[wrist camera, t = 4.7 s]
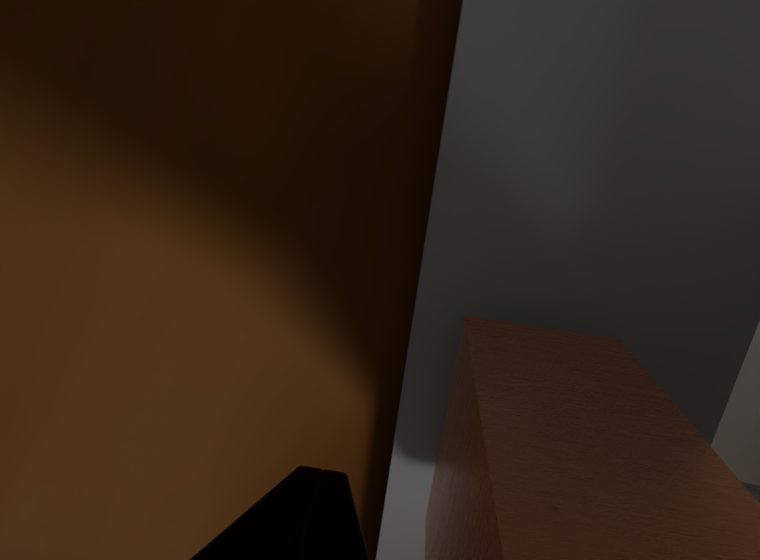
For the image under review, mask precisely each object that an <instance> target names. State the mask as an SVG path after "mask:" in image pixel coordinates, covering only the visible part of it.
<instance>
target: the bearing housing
mask: <svg viewBox="0 0 760 560" xmlns="http://www.w3.org/2000/svg"><path fill="white" fill-rule="evenodd" d="M464 316H469V317H476V318H482V319H489V320H495V321H502V322H509V323H515V324H522V325H528V326H535V327H542V328H548V329H555V330H561V331H568V332H575V333H581V334H588V335H594V336H601V337H608V338H614V339H619V340H620V341H621V342H622V343H623V344H624V346H625V347H626V348H627V349H628V350H629V351H630V353H631V354H632V355H633V356H634V357H635V358H636V360H637V361H638V362H639V363H640V364H641V365H642V367H643V368H644V369H645V370H646V371H647V373H648V374H649V375H650V376H651V377H652V378H653V380H654V381H655V382H656V383H657V384H658V385H659V387H660V388H661V389H662V390H663V391H664V392H665V394H666V395H667V396H668V397H669V398H670V399H671V401H672V402H673V403H674V404H675V405H676V406H677V408H678V409H679V410H680V411H681V412H682V413H683V415H684V416H685V417H686V418H687V419H688V421H689V422H690V423H691V424H692V425H693V426H694V428H695V429H696V430H697V431H698V432H699V433H700V435H701V436H702V437H703V438H704V439H705V440H706V442H707V443H708V444H709V445H710V446H711V447H712V449H713V450H714V451H715V452H716V453H717V454H718V456H719V457H720V458H721V459H722V460H723V461H724V463H725V464H726V465H727V466H728V467H729V469H730V470H731V471H732V472H733V473H734V474H735V476H736V477H737V478H738V479H739V480H740V481H741V482H743V483H749V484H755V485H760V0H462V5H461V12H460V18H459V24H458V31H457V37H456V44H455V50H454V57H453V63H452V69H451V76H450V82H449V89H448V95H447V101H446V108H445V114H444V121H443V127H442V134H441V140H440V146H439V153H438V159H437V166H436V172H435V178H434V185H433V191H432V198H431V204H430V211H429V217H428V223H427V230H426V236H425V243H424V249H423V255H422V262H421V268H420V275H419V281H418V288H417V294H416V300H415V307H414V313H413V320H412V326H411V332H410V339H409V345H408V352H407V358H406V365H405V371H404V377H403V384H402V390H401V397H400V403H399V409H398V416H397V422H396V429H395V435H394V441H393V448H392V454H391V461H390V467H389V474H388V480H387V486H386V493H385V499H384V506H383V512H382V518H381V525H380V531H379V538H378V544H377V551H376V557H375V560H425V518H426V512H427V507H428V502H429V497H430V491H431V486H432V481H433V476H434V470H435V465H436V460H437V455H438V449H439V444H440V439H441V434H442V428H443V423H444V418H445V412H446V407H447V402H448V397H449V391H450V386H451V381H452V376H453V370H454V365H455V360H456V355H457V349H458V344H459V339H460V334H461V328H462V323H463V318H464Z"/></svg>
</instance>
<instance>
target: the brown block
mask: <svg viewBox="0 0 760 560" xmlns="http://www.w3.org/2000/svg"><path fill="white" fill-rule="evenodd" d="M425 560H760V485H755V484H749V483H743V482H741V481H740V480H739V479H738V478H737V477H736V476H735V474H734V473H733V472H732V471H731V470H730V469H729V467H728V466H727V465H726V464H725V463H724V461H723V460H722V459H721V458H720V457H719V456H718V454H717V453H716V452H715V451H714V450H713V449H712V447H711V446H710V445H709V444H708V443H707V442H706V440H705V439H704V438H703V437H702V436H701V435H700V433H699V432H698V431H697V430H696V429H695V428H694V426H693V425H692V424H691V423H690V422H689V421H688V419H687V418H686V417H685V416H684V415H683V413H682V412H681V411H680V410H679V409H678V408H677V406H676V405H675V404H674V403H673V402H672V401H671V399H670V398H669V397H668V396H667V395H666V394H665V392H664V391H663V390H662V389H661V388H660V387H659V385H658V384H657V383H656V382H655V381H654V380H653V378H652V377H651V376H650V375H649V374H648V373H647V371H646V370H645V369H644V368H643V367H642V365H641V364H640V363H639V362H638V361H637V360H636V358H635V357H634V356H633V355H632V354H631V353H630V351H629V350H628V349H627V348H626V347H625V346H624V344H623V343H622V342H621V341H620V340H619V339H614V338H608V337H601V336H594V335H588V334H581V333H575V332H568V331H561V330H555V329H548V328H542V327H535V326H528V325H522V324H515V323H509V322H502V321H495V320H489V319H482V318H476V317H469V316H464V318H463V323H462V328H461V334H460V339H459V344H458V349H457V355H456V360H455V365H454V370H453V376H452V381H451V386H450V391H449V397H448V402H447V407H446V412H445V418H444V423H443V428H442V434H441V439H440V444H439V449H438V455H437V460H436V465H435V470H434V476H433V481H432V486H431V491H430V497H429V502H428V507H427V512H426V518H425Z"/></svg>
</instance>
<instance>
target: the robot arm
mask: <svg viewBox="0 0 760 560" xmlns="http://www.w3.org/2000/svg"><path fill="white" fill-rule="evenodd" d="M190 560H370V558H369V555H368V551H367V547H366V543H365V540H364V536H363V532H362V528H361V525H360V521H359V517H358V513H357V510H356V506H355V502H354V498H353V495H352V491H351V487H350V484H349V480H348V476H347V475H346V474H345V473H344V472H338V471H332V470H322V469H320V468H314V467H308V466H299V467H297V468H296V469H295V470H294V471H293V472H291V473H290V474H289V475H288V476H287V477H286V478H284V479H283V480H282V481H281V482H280V483H279V484H277V485H276V486H275V487H274V488H273V489H272V490H270V491H269V492H268V493H267V494H266V495H265V496H263V497H262V498H261V499H260V500H259V501H258V502H256V503H255V504H254V505H253V506H252V507H251V508H249V509H248V510H247V511H246V512H245V513H244V514H242V515H241V516H240V517H239V518H238V519H237V520H235V521H234V522H233V523H232V524H231V525H230V526H228V527H227V528H226V529H225V530H224V531H222V532H221V533H220V534H219V535H218V536H217V537H215V538H214V539H213V540H212V541H211V542H210V543H208V544H207V545H206V546H205V547H204V548H203V549H201V550H200V551H199V552H198V553H197V554H196V555H194V556H193V557H192V558H191V559H190Z"/></svg>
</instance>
